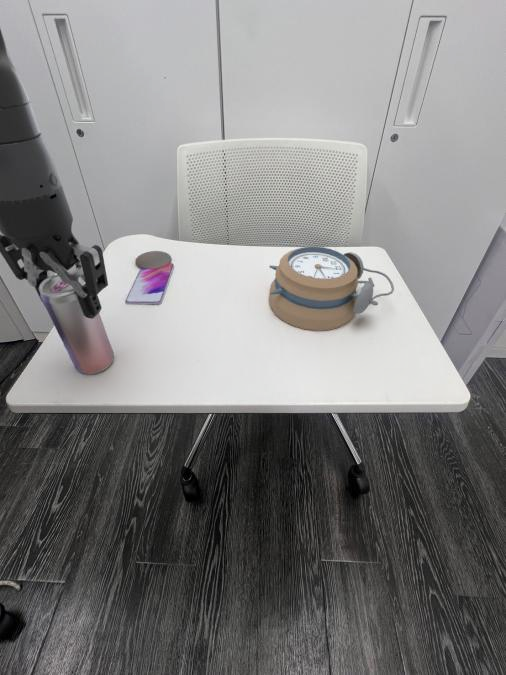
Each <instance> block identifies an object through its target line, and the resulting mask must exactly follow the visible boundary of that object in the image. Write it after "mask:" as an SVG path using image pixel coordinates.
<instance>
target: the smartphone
mask: <svg viewBox="0 0 506 675" xmlns="http://www.w3.org/2000/svg"><path fill="white" fill-rule="evenodd" d="M174 268H175V264H174V263H172V262H171V263H167V264H166V265H165V266H163V267H160V268H156V269H144V268H141V269H140V268H139V271H138V273H137V275H136V277H135V278H134V282H133V283H132V285H131V288H130V290H129V292H128V294H127V295H126V297H125V300H124V303H125V305H134V306H135V305H139V306H140V305H144V306H160V305H162V303H163V301H164V298H165V295H166V292H167V290H168V286H169V284H170V281H171V278H172V275H173V273H174Z"/></svg>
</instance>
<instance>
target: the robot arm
mask: <svg viewBox="0 0 506 675" xmlns="http://www.w3.org/2000/svg"><path fill="white" fill-rule="evenodd" d="M38 123H39V122H38V121H37V118H36V115H35V112H34V110H33V106H32V104H31V101H30V98H29V95H28V93H27V90H26V88H25V85H24V83H23V81H22V78H21V77H20V75H19V72H18V70H17V69H16V67H15V65H14V64H13V61H12V59H11V57H10V53H9V50H8V47H7V44H6V40H5V37H4V35H3V31H2V29H1V27H0V255H1V256H2V257H3V259H4V260H5V262H6V264H7V265H8V267H9V269H10V270H11V272H12V273H13V275H14V276H15V278H16V279H18V280H20V281H23V280H27V283H28V284H29V285H30V286H32V287H34V289H35V290H36V293H37V295H38V297H39V299H40V301H41V302H42V303H43V301H42V299H41V296H40V291H39V285H40V283H41V282H42V281H43V280H44V279H46V278H48V277H49V276H51V275H50V274H51V273H50V272H52V273H55V274H57V275H58V276H59V277H60V278H61V279H62V281H63V282H64V283H66V284H70V285H71V286H72V288H73V289H74V290H75V291H76V292H77V294H78V295H79V296H78V298H79V300H80V303H81V306H82V308H83V311H84V313H85V316H86V317H87V318H91V319H93V318H94V317H95V316H96V315H97V314H98V313H99V314H100V312H101V310H102V305H101V301H100V298H99V293H101V292H102V291H103V290H104V289H105V288H107V287H108V286H109V282H108V275H107V272H106V271H107V269H106V264H105V259H104V258H105V257H104V252H103V249H102V248H101V246H99V245H98V244H94V245H93V246H91V247H88V246H85V245H82V244H80V242H79V241H78V239H77V238H76V236H75V235H74V233H73V231H72V226H73V221H74V218H73V214H72V211H71V209H70V208H71V207H70V205H69V202H68V200H67V197H66V193H65V191H64V188H63V185H62V183H61V180H60V177H59V174H58V171H57V168H56V165H55V162H54V159H53V156H52V154H51V152H50V150H49V148H48V146H47V143H46V142H45V140H44V137H43V135H42V133H41V129H40V126H39V124H38ZM20 260H21V262H22V263H23V266H22V267H21V266H20V264H19V261H20ZM74 266H75V269H74V270H73V271H71V272H72V273H71V274H69V273H68V272H69V270H70V269H72V268H73V267H74ZM79 277H81V278H82V279H83V280H84V282H85V283H86V284H84V285H83V286H82V284H81V283H80V282H79V281H78V278H79ZM43 306H44V307H45V305H44V303H43Z"/></svg>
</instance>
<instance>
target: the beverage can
mask: <svg viewBox="0 0 506 675" xmlns="http://www.w3.org/2000/svg"><path fill="white" fill-rule="evenodd" d="M67 272H68V273H69V274H71V273H72V272H73V271H67ZM78 281H79V282H80V283H81V284H82V286H83V285H84V284H86V283H85V282H84V280H83V279H82V278H81V277H79V278H78ZM39 291H40V296H41V299H42V301H43V302H42V301H41V302H42V303H44V304H43V306H44V305H45V306H44V307H45V309H46V311H47V313H48V315H49V318H50V320H51V321H52V323H53V325H54V327H55V330H56V331H57V334H58V336H59V339H60V340H61V342H62V344H63V346H64V348H65V350H66V352H67V354H68V356H69V358H70V361H71V362H72V364H73V366H74V369H76V371H78V372H80V373H81V374H86V375H94V374H95V375H96V374H99V373H102V372H103V371H105V370H107V369H108V368H109V367H110V366H111V365H112V363H113V361H114V358H115V353H114V349H113V348H112V344H111V341H110V339H109V336H108V333H107V331H106V328H105V325H104V322H103V320H102V317H101V314H100V312H99V313H98V314H97V315H96V316H95V317H94V318H93V319H91V318H87V317H86V316H85V313H84V311H83V308H82V306H81V303H80V300H79V298H78V296H79V295H78V294H77V292H76V291H75V290H74V289H73V288H72V286H71V285H70V284H66V283H64V282H63V281H62V279H61V278H60V277H59V276H58V275H57V273H55V274H51V275H49V277H48V278H46V279H44V280H43V281H42V282H41V283H40V285H39ZM41 299H40V300H41Z"/></svg>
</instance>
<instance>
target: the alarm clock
mask: <svg viewBox="0 0 506 675" xmlns="http://www.w3.org/2000/svg"><path fill="white" fill-rule="evenodd" d="M269 268H270V269H272V270H273V271H275V274H274V276H275V278H274V279H273V280H272V282H271V284H270V287H269V294H268V303H269V307H270V309H271V310H272V312H273V313H274V315H275V316H276V317H278V318H279V319H280V320H281V321H283V322H285V323H287V324H288V325H291V326H293V327H296V328H299V329H303V330H306V331H307V330H308V331H331V330H334V329H337V328H340V327H342V326H344V325H346V324H348V323H349V322H350V321H351V320H352V319H353V317H354V315H360V314H362V313H364V312H365V311H366V310H367V309H368V307H369V306H370V305H373V306H378V305H379V302H378V301H376V300H375V299H377V298H380V297H383V296H384V297H385V296H390V295H392V294H393V293H394V291H395V286H394V283H393V281H392V279H391V278H390V277H389V275H388V274H386V273H385V272H381V271H379V270H373V269H368V268H365V267H364V262H363V260H362V259H361V256H359V255H358V254H357V253H355V252H352V251H349V252H345V253H341V252H339V251H338V250H335V249H332V248H328V247H323V246H304V247H299V248H296V249H293V250H290V251H288V252H286V253H285V254H283V255H282V257H280V259H279V264H278V265H271V264H270V265H269ZM364 271H365V272H368V273H374V274H378V275H380V276H383V277H384V278H386V280H387V281H388V283H389V285H390V287H391V290H390V291H389V292H385V293H379V294H375V295H374V287H375V283H374V280H373V278H372V277H368V280H360V279H361V278H362V276H363V274H364ZM359 284H363V285H362V286H361V289H360V290H359V292H358V291H357V288H358V285H359Z"/></svg>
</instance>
